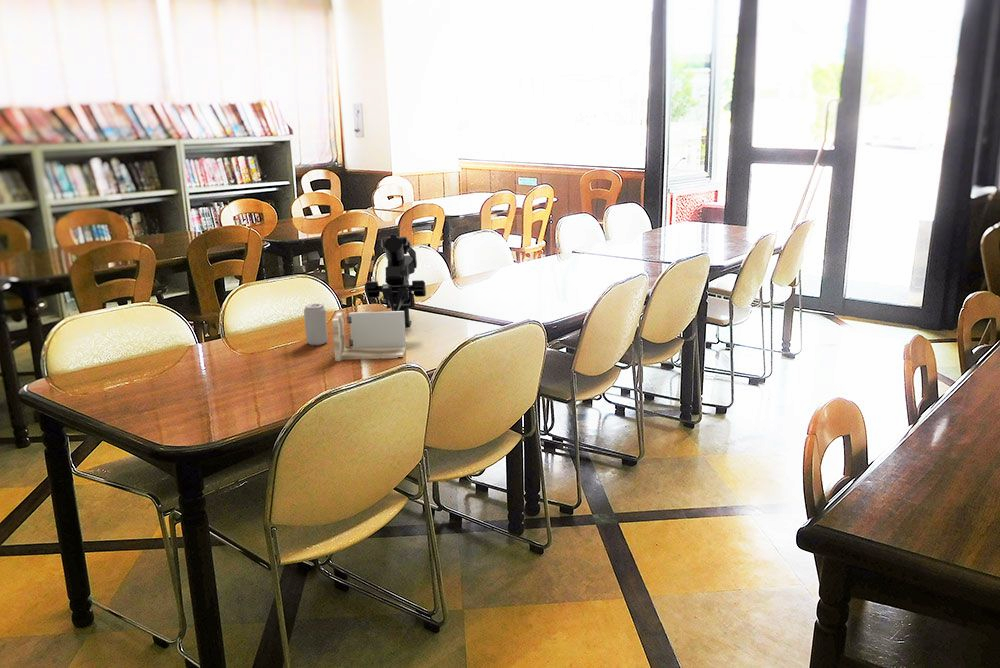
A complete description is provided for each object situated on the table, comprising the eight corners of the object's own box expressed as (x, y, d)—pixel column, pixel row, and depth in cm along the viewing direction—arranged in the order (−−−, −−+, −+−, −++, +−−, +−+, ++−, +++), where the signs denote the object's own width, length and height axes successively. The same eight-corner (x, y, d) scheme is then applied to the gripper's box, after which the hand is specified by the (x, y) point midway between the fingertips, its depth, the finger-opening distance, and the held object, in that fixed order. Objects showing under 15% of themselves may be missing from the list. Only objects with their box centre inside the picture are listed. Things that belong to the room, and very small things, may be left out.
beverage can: (330, 340, 250) (327, 303, 247) (324, 346, 244) (321, 307, 241) (310, 340, 251) (307, 302, 247) (303, 346, 244) (300, 307, 241)
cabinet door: (349, 348, 239) (347, 312, 236) (406, 346, 240) (404, 310, 237) (348, 349, 238) (346, 313, 235) (405, 347, 239) (403, 312, 236)
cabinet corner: (340, 351, 238) (337, 312, 235) (405, 349, 239) (403, 310, 236) (335, 361, 229) (332, 320, 225) (402, 359, 229) (400, 318, 226)
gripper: (363, 256, 249) (360, 299, 241) (423, 254, 249) (423, 297, 241) (368, 276, 258) (365, 317, 251) (426, 274, 259) (425, 316, 251)
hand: (394, 312), depth 248 cm, fingers closed
